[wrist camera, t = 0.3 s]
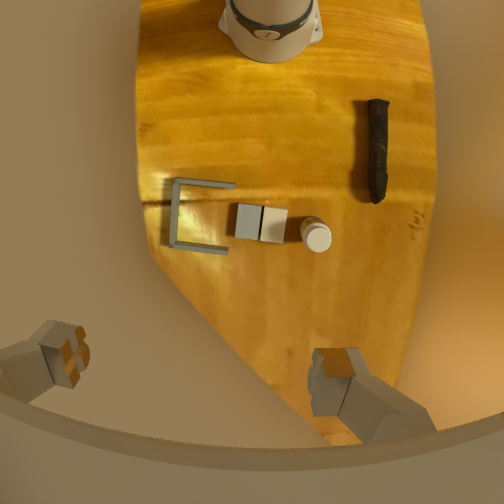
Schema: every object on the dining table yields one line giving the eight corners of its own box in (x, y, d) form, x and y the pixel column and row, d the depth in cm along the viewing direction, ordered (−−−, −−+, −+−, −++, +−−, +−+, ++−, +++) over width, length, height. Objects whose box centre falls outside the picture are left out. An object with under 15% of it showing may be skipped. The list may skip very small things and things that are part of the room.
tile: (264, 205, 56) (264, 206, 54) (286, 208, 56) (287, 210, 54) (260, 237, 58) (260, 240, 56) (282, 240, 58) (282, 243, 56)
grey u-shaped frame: (177, 177, 55) (173, 178, 53) (236, 183, 55) (234, 184, 53) (172, 244, 59) (168, 247, 56) (228, 251, 59) (226, 255, 56)
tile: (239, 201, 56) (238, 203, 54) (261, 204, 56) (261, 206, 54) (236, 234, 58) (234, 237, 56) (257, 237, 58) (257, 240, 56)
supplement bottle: (325, 216, 56) (335, 225, 48) (324, 241, 58) (333, 255, 49) (299, 215, 56) (305, 225, 48) (298, 240, 58) (303, 254, 50)
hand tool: (364, 99, 50) (372, 95, 45) (384, 103, 50) (394, 100, 45) (357, 200, 55) (365, 204, 51) (377, 203, 55) (386, 207, 51)
